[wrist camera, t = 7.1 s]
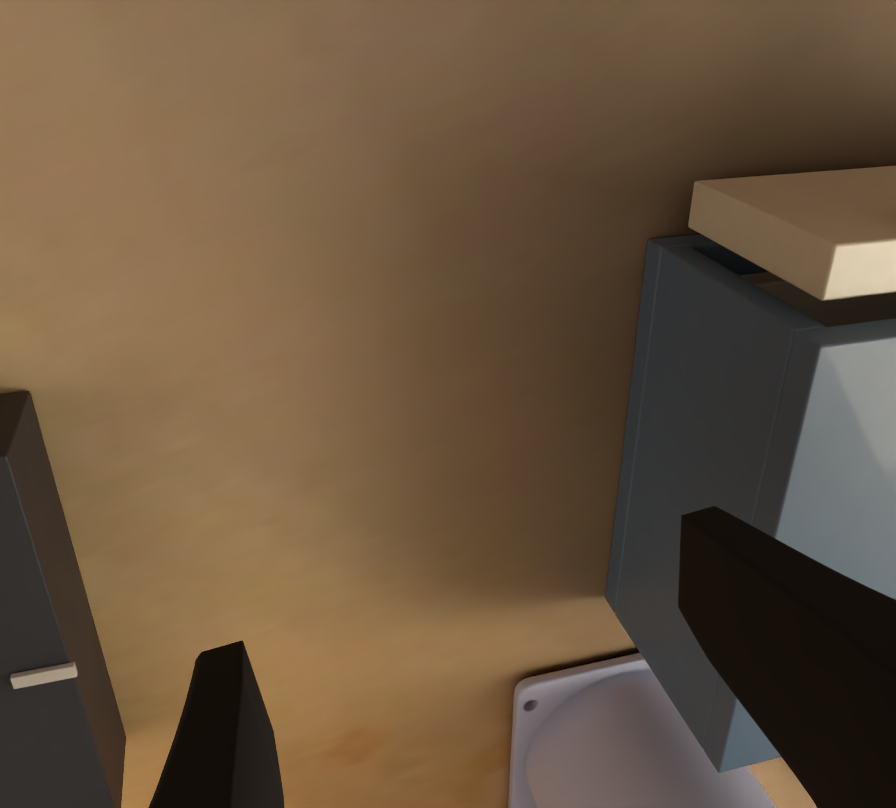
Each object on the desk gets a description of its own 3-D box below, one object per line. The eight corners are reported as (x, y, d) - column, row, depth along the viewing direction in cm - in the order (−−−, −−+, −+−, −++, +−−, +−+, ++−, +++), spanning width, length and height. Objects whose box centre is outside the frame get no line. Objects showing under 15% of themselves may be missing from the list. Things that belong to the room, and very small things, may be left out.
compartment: (646, 238, 22) (819, 346, 16) (997, 205, 25) (1256, 287, 19) (604, 598, 28) (717, 774, 22) (889, 540, 31) (1059, 682, 25)
